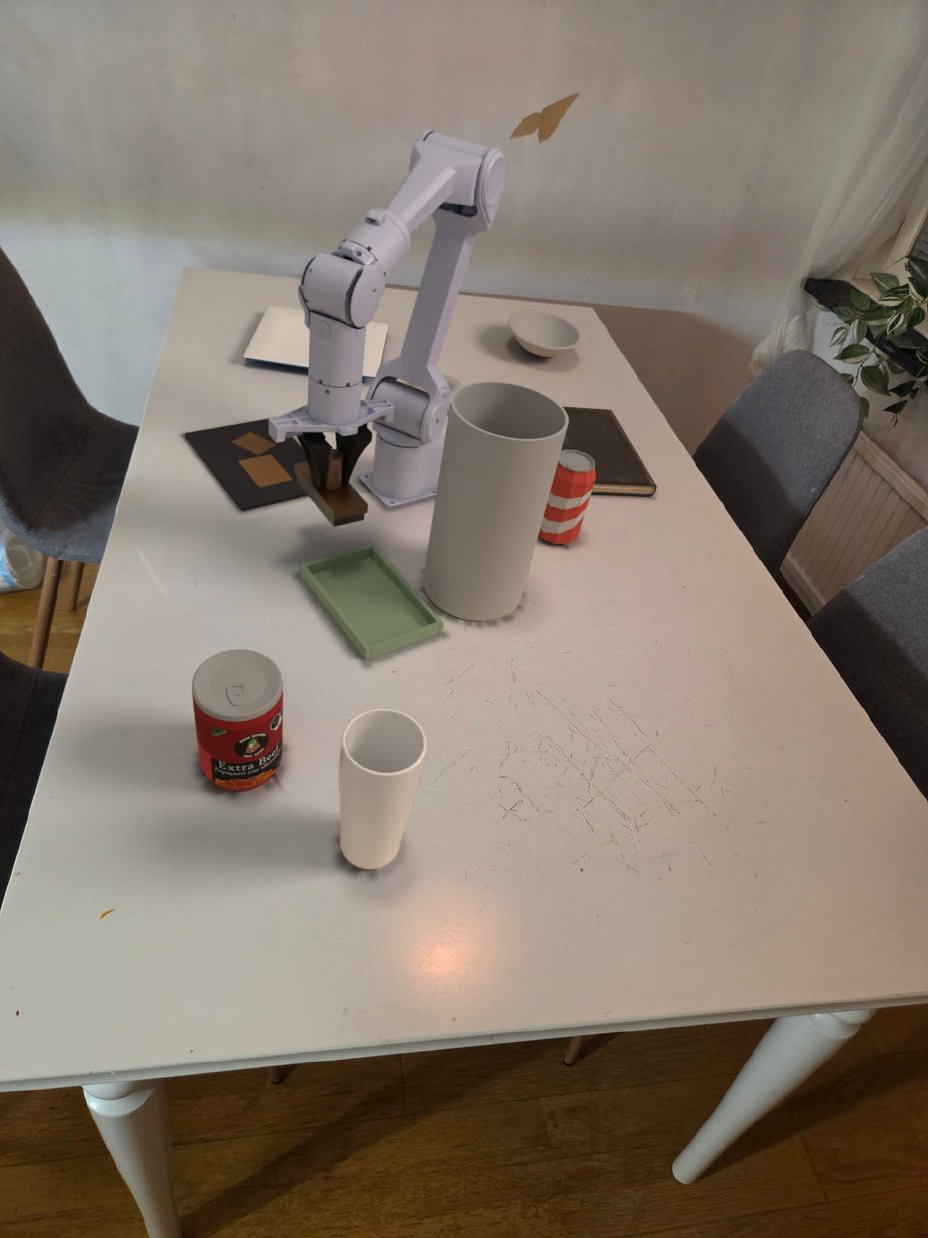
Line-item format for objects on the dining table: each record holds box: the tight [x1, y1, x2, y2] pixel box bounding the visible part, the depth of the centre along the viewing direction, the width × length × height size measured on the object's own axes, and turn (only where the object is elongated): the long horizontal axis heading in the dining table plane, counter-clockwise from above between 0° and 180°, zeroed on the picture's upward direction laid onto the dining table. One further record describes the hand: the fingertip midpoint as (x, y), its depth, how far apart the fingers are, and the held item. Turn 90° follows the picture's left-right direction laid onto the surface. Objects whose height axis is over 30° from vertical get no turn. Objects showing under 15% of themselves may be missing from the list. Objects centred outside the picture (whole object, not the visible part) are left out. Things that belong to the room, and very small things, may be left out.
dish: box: [507, 309, 583, 358], centre depth 155 cm, size 18×14×5 cm
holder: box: [299, 543, 445, 661], centre depth 94 cm, size 10×16×2 cm, turn 35°
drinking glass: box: [337, 708, 428, 870], centre depth 67 cm, size 7×7×15 cm
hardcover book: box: [561, 405, 658, 498], centre depth 129 cm, size 16×23×2 cm
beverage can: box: [538, 450, 596, 545], centre depth 108 cm, size 6×6×12 cm
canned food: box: [191, 648, 284, 792], centre depth 72 cm, size 8×8×11 cm
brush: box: [294, 448, 369, 528], centre depth 94 cm, size 11×4×6 cm, turn 33°
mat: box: [184, 417, 309, 512], centre depth 113 cm, size 14×20×1 cm
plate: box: [242, 305, 389, 380], centre depth 142 cm, size 22×22×2 cm
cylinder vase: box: [422, 380, 569, 622], centre depth 92 cm, size 12×12×25 cm
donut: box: [408, 373, 464, 413], centre depth 134 cm, size 10×4×10 cm
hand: (329, 482), depth 94 cm, fingers closed on brush, 2 cm apart
